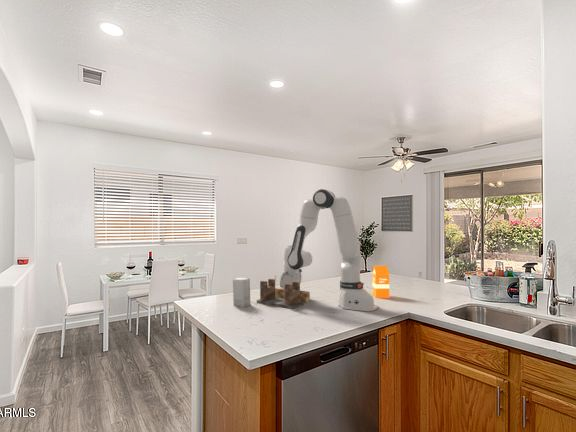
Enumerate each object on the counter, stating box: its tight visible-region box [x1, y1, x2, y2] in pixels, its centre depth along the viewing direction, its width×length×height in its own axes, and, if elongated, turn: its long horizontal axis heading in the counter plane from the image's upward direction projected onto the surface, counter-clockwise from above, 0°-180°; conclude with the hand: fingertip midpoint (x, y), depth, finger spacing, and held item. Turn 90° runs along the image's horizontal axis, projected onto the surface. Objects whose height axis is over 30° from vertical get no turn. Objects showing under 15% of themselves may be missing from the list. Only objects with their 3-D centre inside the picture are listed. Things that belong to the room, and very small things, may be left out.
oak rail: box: [275, 286, 311, 304], centre depth 200 cm, size 24×4×6 cm, turn 56°
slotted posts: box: [256, 278, 305, 310], centre depth 189 cm, size 26×12×13 cm, turn 57°
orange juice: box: [372, 265, 390, 299], centre depth 207 cm, size 8×9×20 cm
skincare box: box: [232, 277, 252, 308], centre depth 186 cm, size 8×7×16 cm
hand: (290, 292), depth 200 cm, fingers open, 8 cm apart
